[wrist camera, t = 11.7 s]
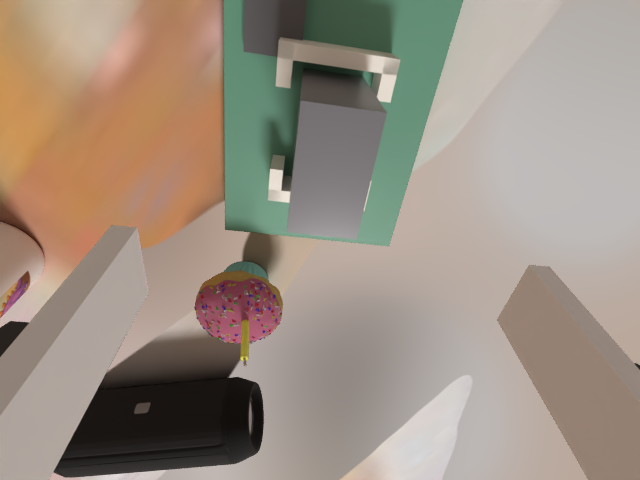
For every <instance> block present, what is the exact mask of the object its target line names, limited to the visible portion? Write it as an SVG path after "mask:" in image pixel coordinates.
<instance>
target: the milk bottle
mask: <svg viewBox="0 0 640 480" xmlns="http://www.w3.org/2000/svg"><path fill="white" fill-rule="evenodd" d="M44 266H45V259H44V255H43V252H42V250H41V249H40V247H39V246H38V244H37V243H36V242H35V241H34V240H33V239H32V238H31V237H30V236H28V235H27V234H26V233H24V232H23V231H21V230H20V229H18V228H16V227H14V226H11V225H9V224H6V223H3V222H0V318H1V317H2V316H3V315H4V314H5V313H6V312H7V310H8V309H9V308H10V307H11V306H12V305H13V304H14V303H15V302H16V301H17V300H18V299H19V298H20V297H21V296H22V295H23V294H24V293H25V292H26V291H27V290H28V288H29V287H30V286H31V285H32V284H33V283H34V282H35V281H36V280H37V279H38V278H39V276H40V275H41V274H42V272H43V270H44Z"/></svg>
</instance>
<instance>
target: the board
mask: <svg viewBox="0 0 640 480" xmlns="http://www.w3.org/2000/svg"><path fill="white" fill-rule="evenodd" d="M462 3H463V0H224V132H225V229H226V230H234V231H244V232H254V233H263V234H273V235H283V236H293V237H303V238H312V239H322V240H332V241H342V242H351V243H361V244H371V245H381V246H389V244H390V241H391V238H392V234H393V231H394V227H395V224H396V221H397V218H398V215H399V211H400V208H401V205H402V201H403V198H404V195H405V191H406V188H407V185H408V181H409V178H410V175H411V172H412V168H413V165H414V162H415V158H416V155H417V152H418V148H419V145H420V142H421V138H422V135H423V132H424V128H425V125H426V122H427V119H428V115H429V112H430V109H431V105H432V102H433V99H434V95H435V92H436V89H437V85H438V82H439V79H440V75H441V72H442V69H443V66H444V62H445V59H446V56H447V52H448V49H449V46H450V42H451V39H452V36H453V32H454V29H455V26H456V22H457V19H458V16H459V13H460V9H461V6H462ZM303 68H309V69H316V70H322V71H329V72H335V73H342V74H348V75H355V76H362V77H364V79H365V80H366V82H367V83H368V85H369V86H370V88H371V89H372V91H373V92H374V94H375V95H376V97H377V98H378V100H379V101H380V103H381V104H382V106H383V107H384V109H385V110H386V112H387V116H386V120H385V124H384V128H383V132H382V136H381V140H380V145H379V149H378V153H377V157H376V161H375V165H374V170H373V174H372V178H371V182H370V186H369V190H368V194H367V199H366V203H365V207H364V211H363V215H362V219H361V223H360V228H359V232H358V236H357V239H347V238H338V237H326V236H316V235H308V234H300V233H290V232H287V222H288V212H289V201H290V191H291V180H292V169H293V160H294V151H295V141H296V132H297V123H298V113H299V104H300V95H301V85H302V76H303Z"/></svg>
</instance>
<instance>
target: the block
mask: <svg viewBox="0 0 640 480" xmlns="http://www.w3.org/2000/svg"><path fill="white" fill-rule="evenodd" d="M386 116H387V112H386V110H385V109H384V107H383V106H382V104H381V103H380V101H379V100H378V98H377V97H376V95H375V94H374V92H373V91H372V89H371V88H370V86H369V85H368V83H367V82H366V80H365V79H364V77H362V76H355V75H348V74H342V73H335V72H329V71H322V70H316V69H309V68H303V76H302V85H301V95H300V104H299V113H298V123H297V132H296V141H295V151H294V160H293V169H292V180H291V191H290V201H289V212H288V222H287V232H290V233H300V234H308V235H316V236H326V237H338V238H347V239H357V236H358V232H359V228H360V223H361V219H362V215H363V211H364V207H365V203H366V199H367V194H368V190H369V186H370V182H371V178H372V174H373V170H374V165H375V161H376V157H377V153H378V149H379V145H380V140H381V136H382V132H383V128H384V124H385V120H386Z"/></svg>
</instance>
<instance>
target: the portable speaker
mask: <svg viewBox="0 0 640 480" xmlns="http://www.w3.org/2000/svg"><path fill="white" fill-rule="evenodd" d="M263 424H264V412H263V400H262V394H261V390H260V387H259V385H258V384H257V383H256V382H252V381H249V380H246V379H243V378H239V377H234V378H224V379H213V380H202V381H192V382H181V383H170V384H160V385H149V386H138V387H128V388H117V389H106V390H97V391H96V393H95V395H94V397H93V398H92V400H91V402H90V404H89V406H88V408H87V410H86V412H85V413H84V415H83V417H82V419H81V421H80V423H79V425H78V427H77V428H76V430H75V432H74V434H73V436H72V438H71V440H70V442H69V444H68V445H67V447H66V449H65V451H64V453H63V455H62V457H61V459H60V460H59V462H58V464H57V466H56V468H55V470H54V473H56V474H59V475H61V476H63V477H84V476H96V475H108V474H121V473H133V472H145V471H157V470H169V469H180V468H192V467H204V466H216V465H228V464H236V463H239V462H241V461H243V460H245V459H247V458H249V457H251V456H253V455H255V454H256V453H258V451H259V449H260V446H261V442H262V436H263Z"/></svg>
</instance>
